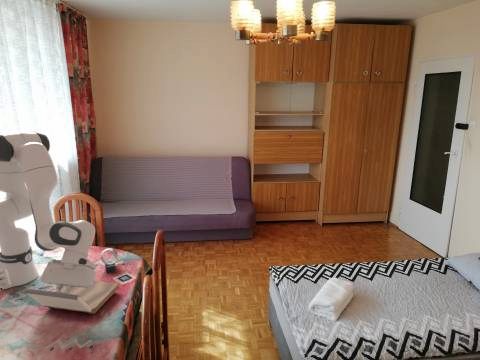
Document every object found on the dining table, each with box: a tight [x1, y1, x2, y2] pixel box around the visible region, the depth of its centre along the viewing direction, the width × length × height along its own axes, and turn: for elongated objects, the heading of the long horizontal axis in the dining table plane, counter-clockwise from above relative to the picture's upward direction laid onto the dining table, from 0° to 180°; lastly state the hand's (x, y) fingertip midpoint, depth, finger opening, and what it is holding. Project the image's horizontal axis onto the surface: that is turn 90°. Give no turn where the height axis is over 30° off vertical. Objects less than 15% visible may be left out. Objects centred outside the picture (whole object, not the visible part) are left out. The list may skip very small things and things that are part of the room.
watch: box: [100, 247, 119, 274], centre depth 165 cm, size 6×8×11 cm
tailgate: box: [24, 288, 92, 313], centre depth 125 cm, size 21×2×12 cm
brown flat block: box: [43, 280, 120, 315], centre depth 140 cm, size 22×18×4 cm
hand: (60, 297), depth 126 cm, fingers closed
